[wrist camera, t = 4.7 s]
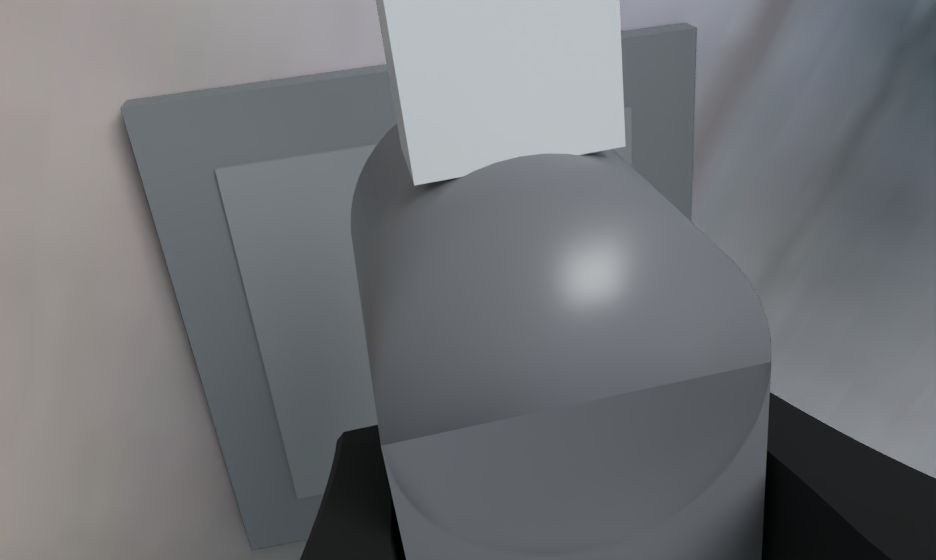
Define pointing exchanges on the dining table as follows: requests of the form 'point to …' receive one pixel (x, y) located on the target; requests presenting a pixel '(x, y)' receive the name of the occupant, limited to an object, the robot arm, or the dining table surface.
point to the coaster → (318, 250)
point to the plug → (547, 306)
